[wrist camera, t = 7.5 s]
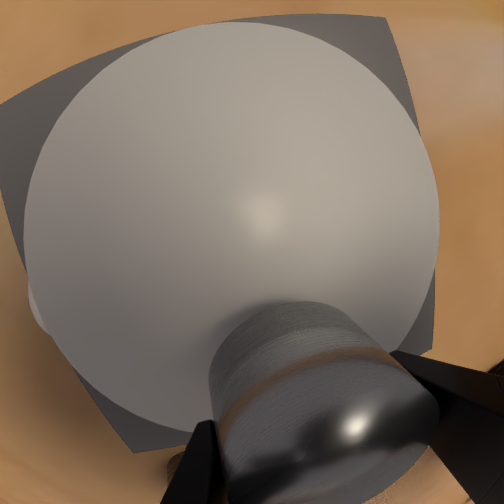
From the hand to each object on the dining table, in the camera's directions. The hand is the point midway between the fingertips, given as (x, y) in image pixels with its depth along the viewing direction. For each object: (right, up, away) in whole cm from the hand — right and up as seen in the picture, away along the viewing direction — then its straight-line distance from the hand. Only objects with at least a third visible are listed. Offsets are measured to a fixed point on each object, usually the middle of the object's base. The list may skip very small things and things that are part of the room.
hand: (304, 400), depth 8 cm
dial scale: (-2, +5, +5) cm, 7 cm away
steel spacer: (0, 0, +1) cm, 1 cm away
